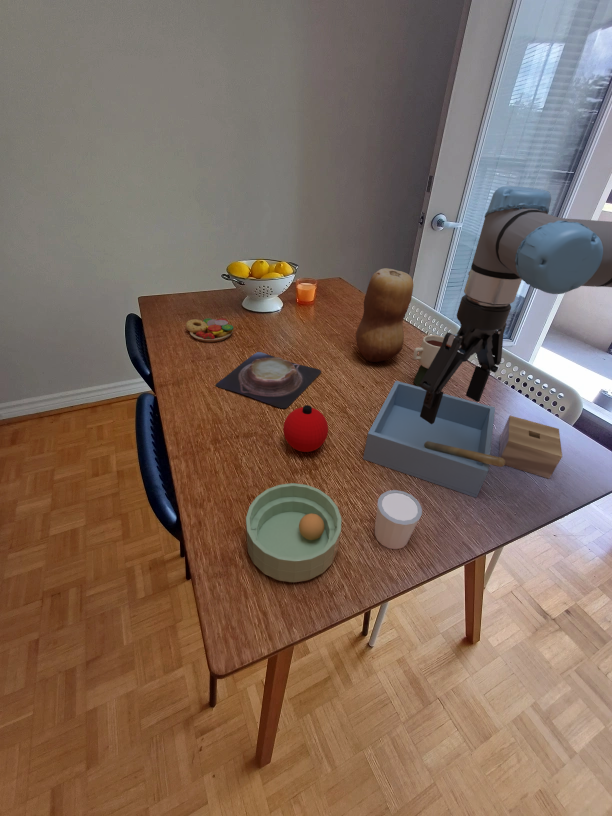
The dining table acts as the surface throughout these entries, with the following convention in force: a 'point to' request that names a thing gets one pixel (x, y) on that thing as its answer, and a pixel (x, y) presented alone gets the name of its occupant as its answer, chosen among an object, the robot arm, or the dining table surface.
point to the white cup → (396, 518)
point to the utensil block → (530, 446)
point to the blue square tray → (431, 438)
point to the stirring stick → (465, 454)
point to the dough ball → (311, 526)
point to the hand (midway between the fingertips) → (450, 408)
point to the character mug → (426, 354)
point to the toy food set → (209, 329)
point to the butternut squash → (384, 315)
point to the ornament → (305, 429)
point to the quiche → (269, 379)
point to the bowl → (291, 532)
